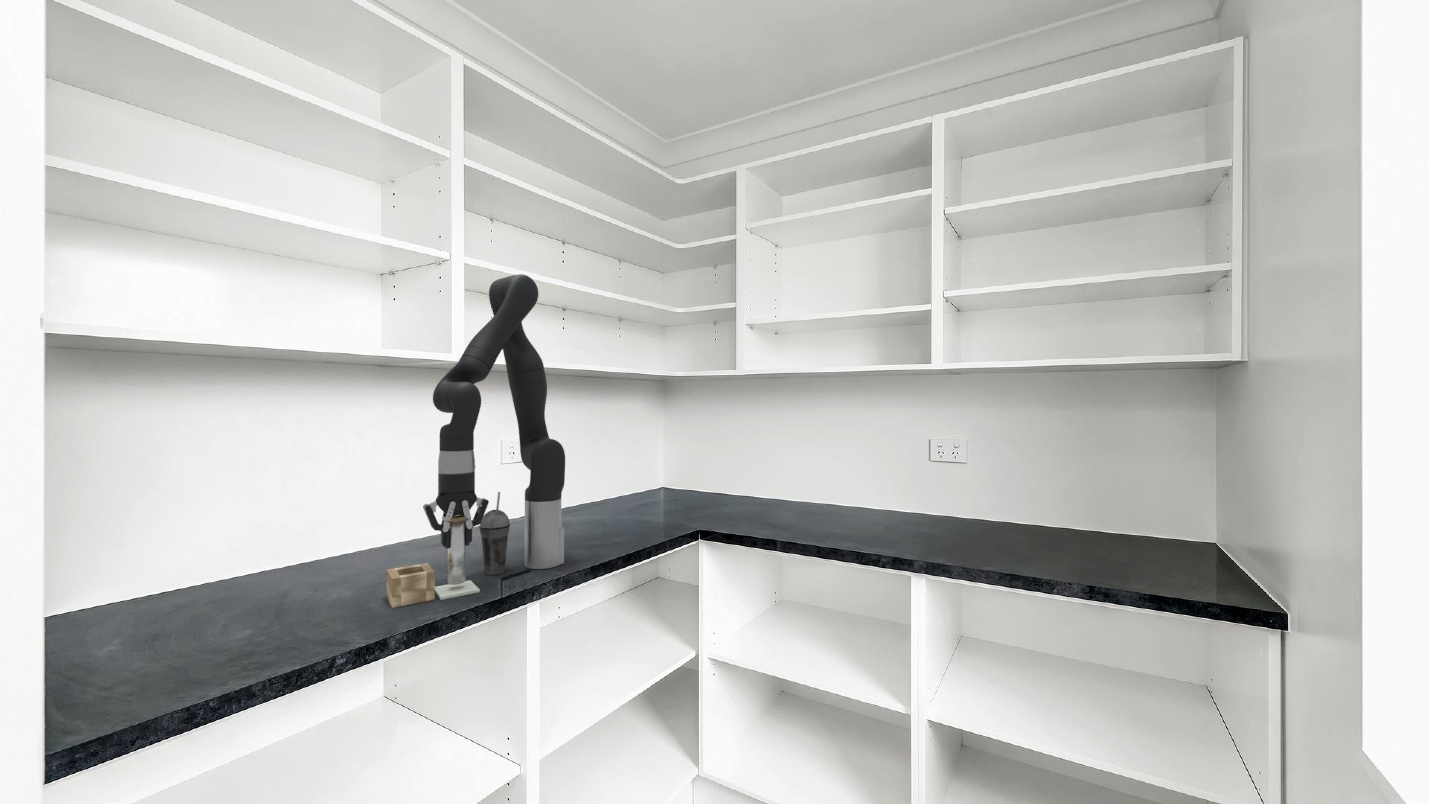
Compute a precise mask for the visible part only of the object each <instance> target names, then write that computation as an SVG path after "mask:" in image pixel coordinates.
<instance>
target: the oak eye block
mask: <svg viewBox="0 0 1429 804" xmlns="http://www.w3.org/2000/svg"><path fill="white" fill-rule="evenodd" d="M435 576H436V571H435V570H434V569H433V568H432V567H431V565H430V564H429V563H428V562H426V563H425V562H424V563H420V564H413V565H407V566H401V567H395V568H389V569H388V568H387V569H386V599H387V601H388V603H389V605H390V607H391V608H393V609H394V608H399V607H404V606H408V605H414V604H419V603H423V602H424V603H425V602H429V601H435V599H436V596H435V595H436V593H435V587H436V583H435V581H436V577H435Z"/></svg>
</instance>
